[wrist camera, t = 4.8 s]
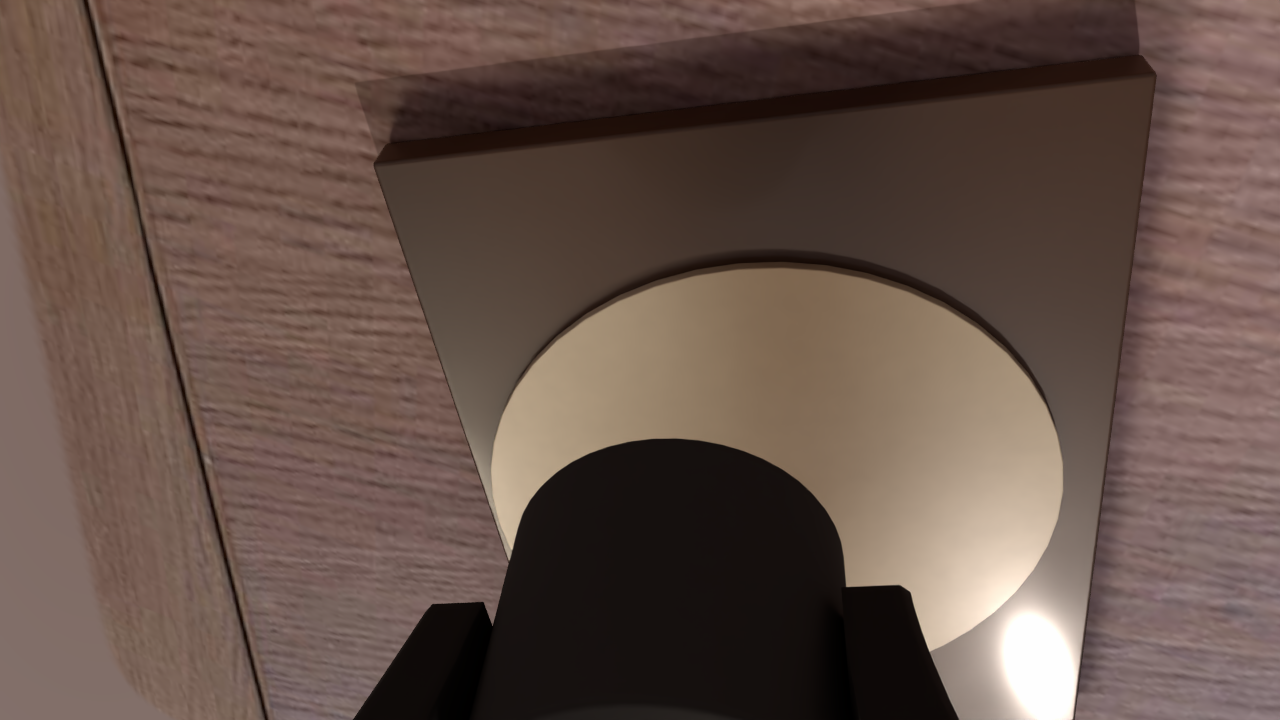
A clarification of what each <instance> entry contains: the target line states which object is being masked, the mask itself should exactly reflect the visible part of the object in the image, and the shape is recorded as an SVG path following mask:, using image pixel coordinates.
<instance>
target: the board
mask: <svg viewBox="0 0 1280 720" xmlns="http://www.w3.org/2000/svg"><path fill="white" fill-rule="evenodd" d="M1156 77H1157V75H1156V72H1155V71H1154V70H1153V69H1152V67H1151V66H1150V65H1149V64H1148V62H1147V61H1146V60H1145V59H1144V57H1143V56H1141V55H1134V56H1125V57H1117V58H1108V59H1100V60H1091V61H1083V62H1075V63H1066V64H1058V65H1049V66H1041V67H1032V68H1024V69H1016V70H1007V71H999V72H990V73H982V74H974V75H965V76H957V77H948V78H940V79H931V80H923V81H915V82H906V83H898V84H889V85H881V86H872V87H864V88H856V89H847V90H839V91H830V92H822V93H813V94H805V95H797V96H788V97H780V98H771V99H763V100H754V101H746V102H738V103H729V104H721V105H712V106H704V107H696V108H687V109H679V110H670V111H662V112H653V113H645V114H637V115H628V116H620V117H611V118H603V119H594V120H586V121H578V122H569V123H561V124H552V125H544V126H535V127H527V128H519V129H510V130H502V131H493V132H485V133H476V134H468V135H460V136H451V137H443V138H434V139H426V140H418V141H409V142H401V143H392V144H387V145H385V147H384V148H383V150H382V151H381V153H380V154H379V156H378V157H377V159H376V160H375V162H374V169H375V172H376V175H377V178H378V181H379V183H380V186H381V189H382V192H383V195H384V198H385V201H386V204H387V207H388V210H389V213H390V216H391V219H392V222H393V225H394V228H395V231H396V233H397V236H398V239H399V242H400V245H401V248H402V251H403V254H404V257H405V260H406V263H407V266H408V269H409V272H410V275H411V278H412V280H413V283H414V286H415V289H416V292H417V295H418V298H419V301H420V304H421V307H422V310H423V313H424V316H425V319H426V322H427V325H428V328H429V330H430V333H431V336H432V339H433V342H434V345H435V348H436V351H437V354H438V357H439V360H440V363H441V366H442V369H443V372H444V375H445V378H446V380H447V383H448V386H449V389H450V392H451V395H452V398H453V401H454V404H455V407H456V410H457V413H458V416H459V419H460V422H461V425H462V427H463V430H464V433H465V436H466V439H467V442H468V445H469V448H470V451H471V454H472V457H473V460H474V463H475V466H476V469H477V472H478V475H479V477H480V480H481V483H482V486H483V489H484V492H485V495H486V498H487V501H488V504H489V507H490V510H491V513H492V516H493V519H494V522H495V525H496V527H497V530H498V533H499V536H500V539H501V542H502V545H503V548H504V551H505V554H506V557H507V560H508V563H509V561H510V557H511V553H512V549H513V545H514V541H515V537H516V534H517V530H518V526H519V523H520V520H521V517H522V514H523V512H524V510H525V508H526V507H527V505H528V503H529V501H530V500H531V498H532V497H533V496H534V495H535V493H536V492H537V491H538V490H539V488H540V487H541V486H542V485H543V484H544V483H545V482H546V481H547V480H549V479H550V478H551V477H552V476H553V475H554V474H555V473H556V472H558V471H559V470H561V469H562V468H564V467H565V466H567V465H568V464H570V463H571V462H573V461H575V460H577V459H579V458H581V457H583V456H585V455H587V454H589V453H592V452H594V451H597V450H600V449H603V448H606V447H609V446H613V445H617V444H621V443H626V442H630V441H638V440H647V439H669V438H677V439H689V440H700V441H705V442H711V443H716V444H722V445H725V446H728V447H732V448H735V449H739V450H742V451H745V452H747V453H750V454H752V455H755V456H757V457H760V458H762V459H764V460H766V461H768V462H770V463H772V464H774V465H775V466H777V467H779V468H781V469H783V470H784V471H785V472H787V473H788V474H790V475H791V476H793V477H794V478H795V479H797V480H798V481H799V482H800V483H802V484H803V485H804V486H805V487H806V488H807V489H808V490H809V491H810V492H811V493H812V494H813V495H814V496H815V497H816V498H817V500H818V501H819V502H820V503H821V505H822V506H823V507H824V508H825V510H826V511H827V513H828V514H829V516H830V518H831V519H832V521H833V523H834V525H835V526H836V529H837V532H838V534H839V537H840V540H841V544H842V549H843V555H844V565H845V577H846V587H857V586H881V585H901V586H902V587H904V588H905V589H907V590H908V591H910V592H911V596H912V600H913V604H914V608H915V611H916V614H917V618H918V621H919V624H920V627H921V630H922V633H923V636H924V638H925V641H926V644H927V647H928V649H929V652H930V654H931V657H932V659H933V662H934V664H935V667H936V669H937V671H938V674H939V676H940V678H941V681H942V683H943V685H944V688H945V690H946V692H947V694H948V697H949V699H950V701H951V703H952V706H953V708H954V710H955V712H956V714H957V716H958V718H959V720H1075V712H1076V705H1077V697H1078V689H1079V681H1080V673H1081V665H1082V658H1083V650H1084V642H1085V634H1086V626H1087V618H1088V610H1089V603H1090V595H1091V587H1092V579H1093V571H1094V563H1095V556H1096V548H1097V540H1098V532H1099V524H1100V516H1101V508H1102V501H1103V493H1104V485H1105V477H1106V469H1107V461H1108V454H1109V446H1110V438H1111V430H1112V422H1113V414H1114V406H1115V399H1116V391H1117V383H1118V375H1119V367H1120V359H1121V352H1122V344H1123V336H1124V328H1125V320H1126V312H1127V304H1128V297H1129V289H1130V281H1131V273H1132V265H1133V257H1134V250H1135V242H1136V234H1137V226H1138V218H1139V210H1140V202H1141V195H1142V187H1143V179H1144V171H1145V163H1146V155H1147V148H1148V140H1149V132H1150V124H1151V116H1152V108H1153V100H1154V93H1155V85H1156Z"/></svg>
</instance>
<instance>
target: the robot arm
mask: <svg viewBox="0 0 1280 720" xmlns="http://www.w3.org/2000/svg"><path fill="white" fill-rule="evenodd" d="M841 592H842V604H843V617H844V630H845V642H846V655H847V667H848V679H849V691H850V702H851V708H852V714H853V720H959V718H958V716H957V714H956V712H955V710H954V708H953V706H952V703H951V701H950V699H949V697H948V694H947V692H946V690H945V688H944V685H943V683H942V681H941V678H940V676H939V674H938V671H937V669H936V667H935V664H934V662H933V659H932V657H931V654H930V652H929V649H928V647H927V644H926V641H925V638H924V636H923V633H922V630H921V627H920V624H919V621H918V618H917V614H916V611H915V608H914V604H913V600H912V596H911V592H910V591H908V590H907V589H905V588H904V587H902V586H901V585H881V586H857V587H841ZM492 628H493V626H492V623H491V621H490V618H489V615H488V613H487V610H486V608H485V605H484V602H472V603H448V604H432V605H431V607H430V608H429V609H428V610H427V611H426V612H425V614H424V615H423V617H422V618H421V620H420V621H419V623H418V624H417V626H416V627H415V629H414V630H413V632H412V633H411V635H410V636H409V638H408V639H407V641H406V642H405V644H404V645H403V647H402V648H401V650H400V651H399V653H398V654H397V656H396V657H395V659H394V660H393V662H392V663H391V665H390V666H389V668H388V669H387V671H386V672H385V674H384V675H383V677H382V678H381V679H380V681H379V682H378V684H377V685H376V687H375V688H374V690H373V691H372V693H371V694H370V696H369V697H368V699H367V700H366V701H365V703H364V704H363V706H362V707H361V709H360V710H359V712H358V713H357V715H356V716H355V717H354V719H353V720H469V718H470V714H471V710H472V706H473V702H474V698H475V695H476V691H477V687H478V683H479V679H480V675H481V671H482V667H483V663H484V659H485V655H486V651H487V647H488V643H489V640H490V636H491V632H492Z"/></svg>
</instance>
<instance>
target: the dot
mask: <svg viewBox="0 0 1280 720" xmlns="http://www.w3.org/2000/svg"><path fill="white" fill-rule="evenodd" d="M841 587H846V577H845V565H844V555H843V549H842V544H841V540H840V537H839V534H838V532H837V529H836V526H835V525H834V523H833V521H832V519H831V518H830V516H829V514H828V513H827V511H826V510H825V508H824V507H823V506H822V505H821V503H820V502H819V501H818V500H817V498H816V497H815V496H814V495H813V494H812V493H811V492H810V491H809V490H808V489H807V488H806V487H805V486H804V485H803V484H802V483H800V482H799V481H798V480H797V479H795V478H794V477H793V476H791V475H790V474H788V473H787V472H785V471H784V470H783V469H781V468H779V467H777V466H775V465H774V464H772V463H770V462H768V461H766V460H764V459H762V458H760V457H757V456H755V455H752V454H750V453H747V452H745V451H742V450H739V449H735V448H732V447H728V446H725V445H722V444H716V443H711V442H705V441H700V440H689V439H677V438H669V439H647V440H638V441H630V442H626V443H621V444H617V445H613V446H609V447H606V448H603V449H600V450H597V451H594V452H592V453H589V454H587V455H585V456H583V457H581V458H579V459H577V460H575V461H573V462H571V463H570V464H568V465H567V466H565V467H564V468H562V469H561V470H559V471H558V472H556V473H555V474H554V475H553V476H552V477H551V478H550V479H549V480H547V481H546V482H545V483H544V484H543V485H542V486H541V487H540V488H539V490H538V491H537V492H536V493H535V495H534V496H533V497H532V498H531V500H530V501H529V503H528V505H527V507H526V508H525V510H524V512H523V514H522V517H521V520H520V523H519V526H518V530H517V534H516V537H515V541H514V545H513V549H512V553H511V557H510V561H509V565H508V569H507V573H506V577H505V581H504V585H503V588H502V592H501V596H500V600H499V604H498V608H497V612H496V616H495V620H494V624H493V628H492V632H491V636H490V640H489V643H488V647H487V651H486V655H485V659H484V663H483V667H482V671H481V675H480V679H479V683H478V687H477V691H476V695H475V698H474V702H473V706H472V710H471V714H470V718H469V720H853V714H852V708H851V702H850V691H849V679H848V667H847V655H846V642H845V630H844V617H843V604H842V592H841Z"/></svg>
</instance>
